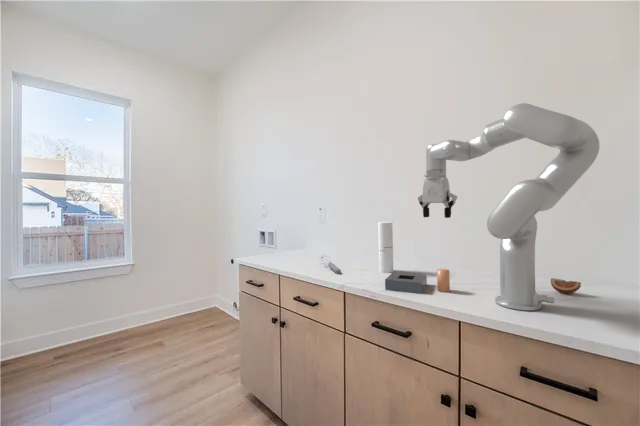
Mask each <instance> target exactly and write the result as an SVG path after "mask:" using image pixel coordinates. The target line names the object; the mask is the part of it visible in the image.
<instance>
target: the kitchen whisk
mask: <svg viewBox="0 0 640 426" xmlns="http://www.w3.org/2000/svg"><path fill="white" fill-rule="evenodd" d="M326 257H328V259H331V257H330V256H328V255H326V256H320V257H319V258H318V261H319V260H320V261H323V262H324V266H327V267H328V268H330V269H331V270H332V271H333V272H334V273H335V274H336V273H337V274H336V275H341V274H342V271H341V269H340V268H339V267H337V266H336V265H335V264H334V263H333V262H332V261H331V260H328V259H326ZM324 258H325V259H324ZM324 260H326V261H328V262H327V263H326V261H324ZM325 263H326V264H325Z"/></svg>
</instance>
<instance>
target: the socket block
mask: <svg viewBox="0 0 640 426" xmlns="http://www.w3.org/2000/svg"><path fill="white" fill-rule="evenodd" d="M427 280H428V279H427V274H421V273H409V272H396V271H395V272H394V271H393V272H391V273H390V275H389V276H387V277H386V278H385V279H384V287H385V288H384V290H385V291H395V292H403V293H404V292H405V293H412V294H413V293H415V294H423V292H424V291H425V288H426V287H427V284H428V281H427Z"/></svg>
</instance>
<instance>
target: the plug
mask: <svg viewBox="0 0 640 426" xmlns="http://www.w3.org/2000/svg"><path fill="white" fill-rule="evenodd" d="M436 276H437V277H436V280H437V281H436V282H437V283H436V285H437V288H436V289H437V291H438V292H441V293H449V292H451V287H450V286H451V285H450V283H451V282H450V280H451V279H450V270H449V269H446V268H439V269H436Z"/></svg>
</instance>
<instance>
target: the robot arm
mask: <svg viewBox="0 0 640 426" xmlns="http://www.w3.org/2000/svg"><path fill="white" fill-rule="evenodd" d="M522 139H528V140H532V141H534V142H536V143H539V144H541V145H544V146H547V147H550V148H554V149H557V150H559V153H558V154H557V155H556V156H555V157H554V158H553V159H551V161H549V162H548V164H547V165H546V166H545V167H544V169H543V170H542V171H541V172H540V173H539V174H538V175H537V176H536V177H535V178H534V179H533V178H532V179H525V180H522V181H519V182H518V183H517V184H515V185H514V186H513V187H512V188H510V190H509V191H508V192H507V193H506V194H505V196H504V197H503V198H502V199H501V200H500V202H499V203H498V204H497V205H496V207H494V209H493V210H492V211H491V212H490V214H489V216H488V218H487V221H486V227H487V230H488V232H489V234H490V235H491V236H493V237H495V238H496V239H501V240H500V244H499V248H500V249H499V285H500V289H499V290H500V292H499V293H500V294H499V295H497V296H496V297H495V298H494V301H495V303H496V304H497V305H500V306H501V307H505V308H508V309H512V310H517V311H527V312H529V311H531V312H533V311H538V310H541V309H542V303H547V304H555V297H554V296H548V295H546V294H539V293H538V292H537V291H536V239H537V231H538V223H537V222H538V221H537V218H536V214H538V212H543V211H549V210H551V209H552V208H553V207H554V206H555V205H557V203H558V202H560V200H561V199H562V198H563V197H564V195H566V194H567V193H568V192H569V191H570V189H572V187H574V185H575V184H576V183H577V181H579V180H580V178H582V177H583V175H585V173H586V172H587V171H588V170H589V169H590V168H591V166H592V165H593V164H594V163H595V161H596V159H597V157H598V155H599V152H600V144H601V143H600V140H599V136H598V134H597V133H596V131H595V130H594V129H593V128H592V127H591V125H589V124H588V123H586V122H585V121H583V120H581V119H578V118H577V117H576V118H575V117H573V116H571V115H567V114H564V113H561V112H556V111H553V110H549V109H546V108H542V107H539V106H536V105H534V104H531V103H525V102H524V103H518V104H515V105H513V106H511V107H510V108H509V109H507V111H506V112H505V114H504V115H503V118H501V119H499V120H498V119H497V120H495V121H493V122H490V123H488V124H486V125H485V126H484V129H483V133H481V134H480V135H479V136H477V137H474V138H472V139H469V140H467V141H462V140H461V141H460V140H455V139H447V140H444V141H442V142H438V143H433V144H430V145H427V146H426V148H425V165H426V166H425V171H426V173H424V175H423V177H425V179H424V181H423V185H422V186H423V187H422V194H421V195H419V196H418V197H417V201H418V202H419V205H420V206H421V208H422V214H423V215H422V216H423V218H429V217H430V207H429V206H430V204H441V203H442V204H443V205H444V209H443V210H444V211H443V212H444V219H451V216H452V208H453V206H454V205H455V204H456V201H457V199H458V196H457V195H456V194H454V193H452V192H451V188H450V182H449V178H448V177H447V161H455V162H466V161H470V160H474V159H476V158H479V157H482V156H484V155H487V154H488V153H490V152H492V151H493V150H495V149H497V148H500V147H502V146H505V145H508V144H511V143H513V142H517V141H520V140H522Z"/></svg>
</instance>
